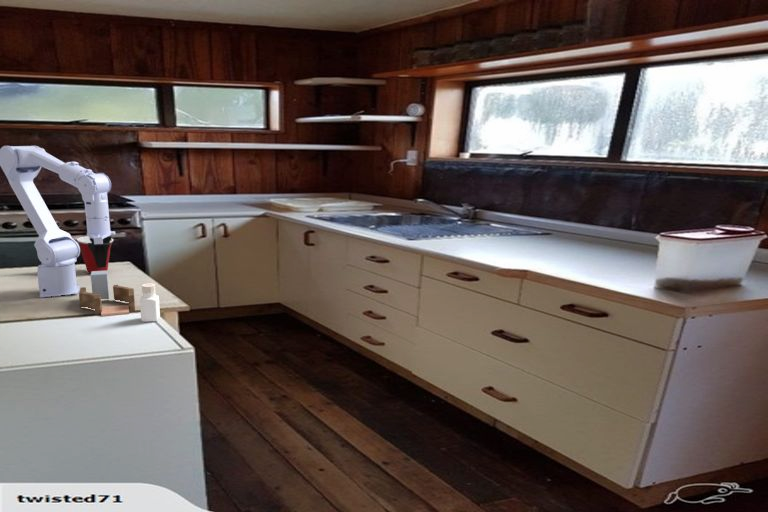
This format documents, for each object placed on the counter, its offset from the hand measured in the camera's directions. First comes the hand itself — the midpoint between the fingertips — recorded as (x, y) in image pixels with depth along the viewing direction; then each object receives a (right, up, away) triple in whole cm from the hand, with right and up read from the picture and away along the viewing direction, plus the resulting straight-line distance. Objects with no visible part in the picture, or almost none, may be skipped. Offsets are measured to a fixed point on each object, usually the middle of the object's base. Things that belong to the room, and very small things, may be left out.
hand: (102, 264), depth 147 cm
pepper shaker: (+19, -15, -12) cm, 27 cm away
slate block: (-1, -10, +2) cm, 10 cm away
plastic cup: (-17, -4, +28) cm, 33 cm away
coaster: (+8, -13, -7) cm, 17 cm away
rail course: (+4, -12, -4) cm, 13 cm away
